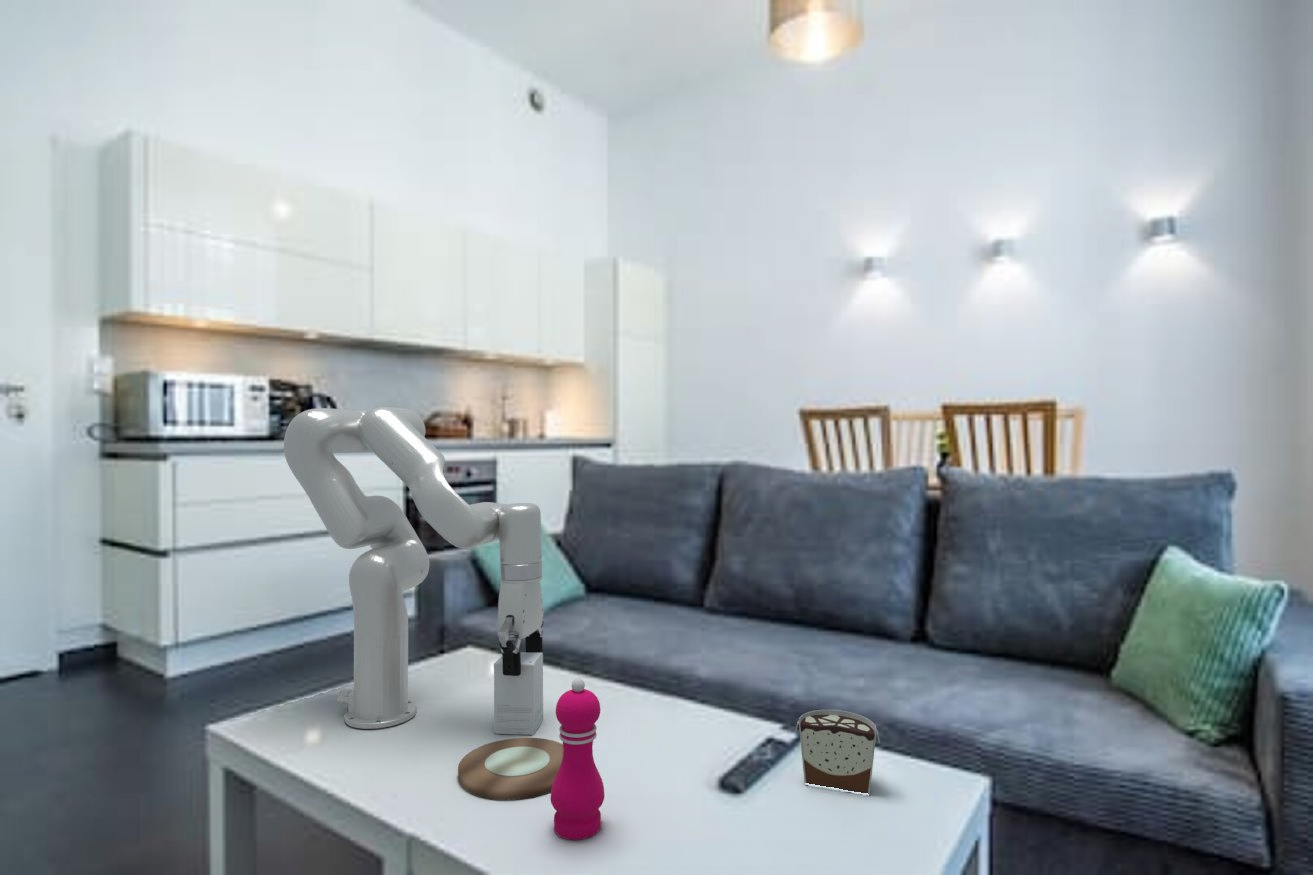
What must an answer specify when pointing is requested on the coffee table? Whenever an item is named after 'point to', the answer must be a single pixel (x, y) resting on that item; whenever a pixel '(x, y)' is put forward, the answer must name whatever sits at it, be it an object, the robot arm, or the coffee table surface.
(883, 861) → the coffee table surface
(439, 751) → the coffee table surface
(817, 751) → the food container
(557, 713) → the pepper mill
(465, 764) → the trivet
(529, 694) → the supplement box
